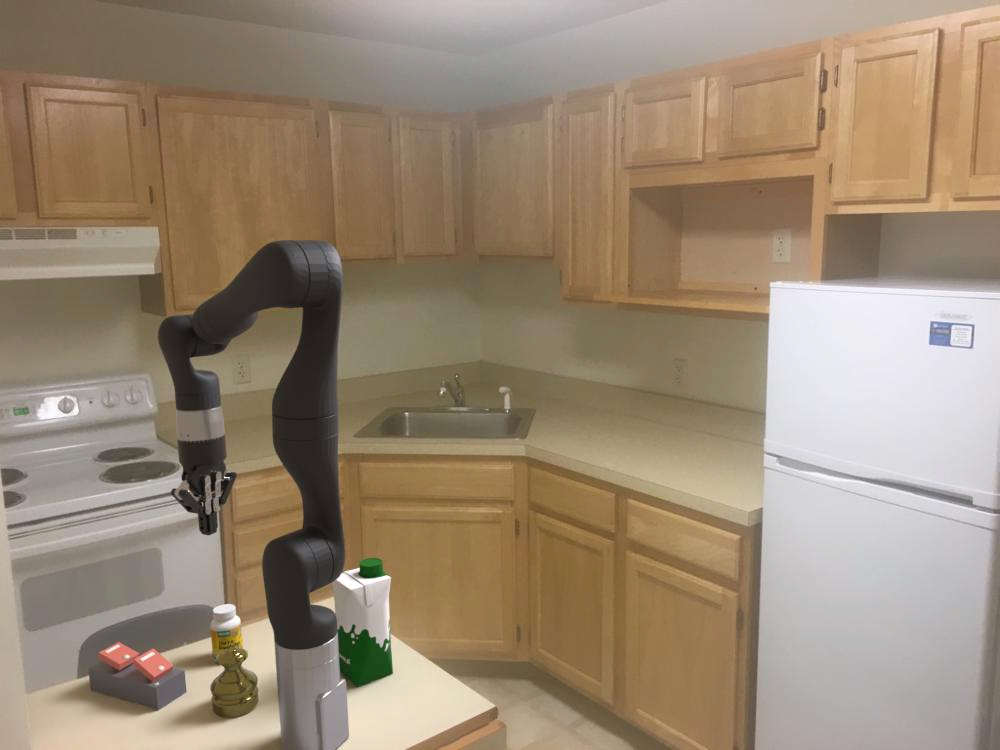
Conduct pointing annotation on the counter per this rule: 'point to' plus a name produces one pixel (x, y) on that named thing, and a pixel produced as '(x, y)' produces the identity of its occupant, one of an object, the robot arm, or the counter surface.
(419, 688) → the counter surface
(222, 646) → the supplement bottle
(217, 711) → the gold chess piece
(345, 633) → the milk carton
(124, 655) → the far rocker
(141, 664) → the near rocker
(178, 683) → the switch box
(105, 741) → the counter surface
